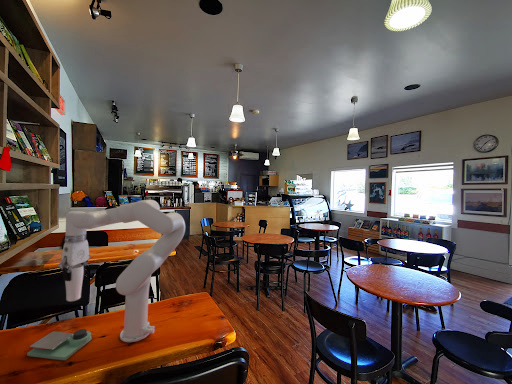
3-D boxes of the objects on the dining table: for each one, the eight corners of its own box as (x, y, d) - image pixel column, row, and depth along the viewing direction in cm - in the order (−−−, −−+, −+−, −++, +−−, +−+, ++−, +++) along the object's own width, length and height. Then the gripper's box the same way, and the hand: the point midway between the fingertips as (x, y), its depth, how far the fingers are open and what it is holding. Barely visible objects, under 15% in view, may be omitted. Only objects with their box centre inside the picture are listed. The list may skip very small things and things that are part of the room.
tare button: (88, 334, 102) (89, 329, 102) (80, 340, 97) (80, 335, 97) (79, 333, 102) (79, 328, 102) (70, 339, 98) (70, 334, 98)
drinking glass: (66, 304, 102) (67, 270, 102) (62, 299, 106) (63, 266, 106) (84, 299, 108) (85, 266, 107) (80, 294, 112) (81, 263, 112)
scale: (94, 338, 103) (94, 331, 103) (66, 360, 90) (67, 353, 90) (59, 334, 105) (59, 327, 105) (27, 356, 91) (27, 348, 91)
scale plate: (74, 334, 101) (74, 333, 101) (52, 350, 91) (52, 349, 91) (53, 332, 101) (53, 331, 101) (28, 347, 92) (28, 346, 92)
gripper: (66, 243, 98) (64, 285, 98) (98, 235, 115) (97, 271, 115) (49, 242, 98) (48, 284, 99) (84, 234, 116) (83, 270, 116)
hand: (74, 277), depth 107 cm, fingers closed on drinking glass, 6 cm apart
